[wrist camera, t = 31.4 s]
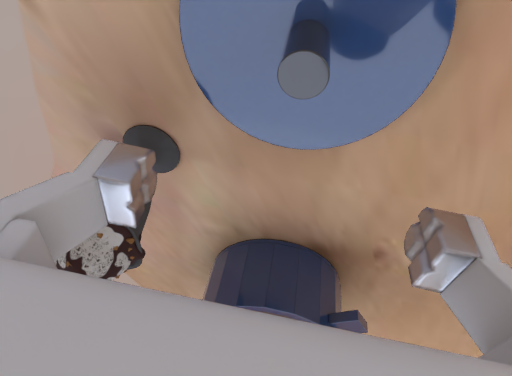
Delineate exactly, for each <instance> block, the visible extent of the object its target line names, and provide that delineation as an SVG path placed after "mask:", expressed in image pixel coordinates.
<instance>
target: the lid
mask: <svg viewBox="0 0 512 376" xmlns="http://www.w3.org/2000/svg"><path fill="white" fill-rule="evenodd" d="M455 13H456V0H180V5H179V22H180V31H181V39H182V44H183V48H184V52H185V56H186V59H187V62H188V64H189V67H190V70H191V72H192V74H193V76H194V78H195V80H196V82H197V84H198V86H199V87H200V89H201V90H202V92H203V93H204V95H205V96H206V98H207V99H208V100H209V101H210V103H211V104H212V105H213V106H214V107H215V109H216V110H217V111H218V112H219V113H220V114H222V115H223V116H224V117H225V118H226V119H227V120H228V121H230V122H231V123H232V124H233V125H235V126H236V127H237V128H239V129H241V130H242V131H244V132H246V133H247V134H249V135H251V136H253V137H255V138H257V139H260V140H262V141H265V142H268V143H271V144H274V145H278V146H282V147H287V148H294V149H325V148H332V147H337V146H342V145H346V144H349V143H352V142H355V141H358V140H361V139H363V138H365V137H367V136H370V135H372V134H374V133H375V132H377V131H379V130H381V129H383V128H384V127H386V126H387V125H389V124H390V123H391V122H393V121H394V120H396V119H397V118H398V117H399V116H401V115H402V114H403V113H404V112H405V111H406V110H407V109H408V108H410V107H411V105H412V104H413V103H414V102H415V101H416V100H417V99H418V98H419V97H420V95H421V94H422V93H423V92H424V90H425V89H426V87H427V86H428V85H429V83H430V82H431V80H432V79H433V77H434V75H435V74H436V72H437V70H438V68H439V66H440V65H441V63H442V60H443V58H444V55H445V53H446V50H447V48H448V45H449V42H450V38H451V34H452V31H453V27H454V20H455Z"/></svg>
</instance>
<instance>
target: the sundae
mask: <svg viewBox="0 0 512 376" xmlns="http://www.w3.org/2000/svg"><path fill="white" fill-rule="evenodd" d="M123 143H125V144H129V145H134V146H138V147H142V148H146V149H151V150H153V151H154V152H155V157H156V162H155V163H154V165H153V168H154V169H155V171H156V172H157V173H166V172H169V171H171V170H173V169H174V168H175V167H176V166H177V165H178V163H179V159H180V154H179V150H178V148H177V145H176V144H175V143H174V141H173V140H172V139H171V138H170V137H169V136H168V135H167V134H165V133H164V132H162V131H161V130H159V129H156V128H154V127H150V126H135V127H132V128H130V129H129V130H128V131H127V132H126V133H125V135H124V137H123ZM151 201H152V199H151ZM151 201H150V202H148V203H146V204H144V209H145V213H144V214H143V216H142V218H141V220H140V222H139V224H138V226H137V228H132V227H126V226H121V225H115V224H110V223H108V225H107V226H105V227H104V228H102V229H101V230H99V231H98V232H96V233H95V234H93V235H92V236H90V237H89V238H87V239H86V240H84V241H83V242H82V243H80V244H79V245H77V246H76V247H74V248H73V249H71V250H70V251H68V252H67V253H65V254H64V255H62V256H61V257H59V258H58V259H56V260H55V261H54V263H55V265H56V267H57V269H59V270H64V271H69V272H73V273H78V274H83V275H87V276H92V277H97V278H102V279H106V280H114V279H115V278H119V276H120V275H121V274H122V273H124V272H126V271H127V270H128V269H133V268H137V267H138V266H140V265H141V263H142V259H143V258H144V256H145V251H144V249H143V248H142V247H141V244H140V240H141V234H142V231H143V228H144V225H145V222H146V219H147V216H148V213H149V210H150V205H151Z"/></svg>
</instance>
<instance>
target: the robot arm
mask: <svg viewBox="0 0 512 376" xmlns="http://www.w3.org/2000/svg"><path fill="white" fill-rule="evenodd" d="M155 162H156V157H155V152H154V151H153V150H151V149H146V148H142V147H138V146H134V145H129V144H125V143H119V142H115V141H111V140H106V139H103V140H100V141H99V142H98V143H97V144H96V146H95V147H94V148H93V149H92V150H91V152H90V153H89V154H88V155H87V156H86V158H85V159H84V160H83V161H82V162H81V164H80V165H79V166H78V167H77V168H76V170H75V171H74V172H73V173H70V172H66V173H64V174H61V175H59V176H57V177H54V178H52V179H49V180H47V181H44V182H42V183H39V184H37V185H34V186H32V187H29V188H27V189H24V190H22V191H19V192H17V193H15V194H12V195H10V196H7V197H5V198H2V199H0V376H512V268H511V267H510V266H509V265H508V264H504V263H502V262H501V260H500V258H499V256H498V254H497V251H496V249H495V247H494V245H493V243H492V240H491V238H490V236H489V234H488V231H487V229H486V227H485V225H484V223H483V221H482V220H481V219H480V218H479V217H475V216H470V215H465V214H458V213H453V212H448V211H443V210H438V209H433V208H428V207H426V208H425V209H423V210H422V211H421V213H420V214H419V215H418V217H419V221H420V222H418V223H415V224H413V225H411V227H410V228H409V230H408V231H407V233H406V236H405V240H404V250H405V255H406V256H407V257H408V258H409V259H410V261H411V264H410V265H409V267H408V269H409V274H410V279H411V283H412V287H417V288H421V289H425V290H429V291H433V292H438V293H441V294H440V295H441V297H442V298H443V299H444V301H445V302H446V303H447V305H448V306H449V308H450V309H451V310H452V312H453V313H454V314H455V316H456V317H457V319H458V320H459V321H460V323H461V324H462V325H463V327H464V328H465V330H466V331H467V332H468V334H469V335H470V337H471V338H472V339H473V341H474V342H475V343H476V345H477V346H478V348H479V349H480V350H481V352H482V353H483V354H484V355H482V356H480V357H479V358H475V357H470V356H466V355H461V354H456V353H452V352H447V351H442V350H437V349H433V348H428V347H423V346H419V345H414V344H409V343H404V342H400V341H395V340H390V339H385V338H381V337H376V336H371V335H366V334H362V333H357V332H352V331H347V330H343V329H338V328H333V327H328V326H324V325H319V324H314V323H309V322H305V321H300V320H295V319H290V318H286V317H281V316H276V315H272V314H267V313H262V312H257V311H253V310H248V309H243V308H239V307H234V306H229V305H224V304H220V303H215V302H210V301H206V300H201V299H196V298H191V297H187V296H182V295H177V294H172V293H168V292H163V291H158V290H154V289H149V288H144V287H139V286H135V285H130V284H125V283H120V282H116V281H111V280H106V279H102V278H97V277H92V276H87V275H83V274H78V273H73V272H69V271H64V270H59V269H57V267H56V265H55V263H54V261H55V260H56V259H58V258H59V257H61V256H62V255H64V254H65V253H67V252H68V251H70V250H71V249H73V248H74V247H76V246H77V245H79V244H80V243H82V242H83V241H84V240H86V239H87V238H89V237H90V236H92V235H93V234H95V233H96V232H98V231H99V230H101V229H102V228H104V227H105V226H107V225H108V223H110V224H115V225H121V226H126V227H132V228H137V226H138V224H139V222H140V220H141V218H142V216H143V214H144V213H145V209H144V204H146V203H148V202H150V201H151V199H152V197H153V195H154V192H155V189H156V185H157V172H156V171H155V169H154V168H153V165H154V163H155Z"/></svg>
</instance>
